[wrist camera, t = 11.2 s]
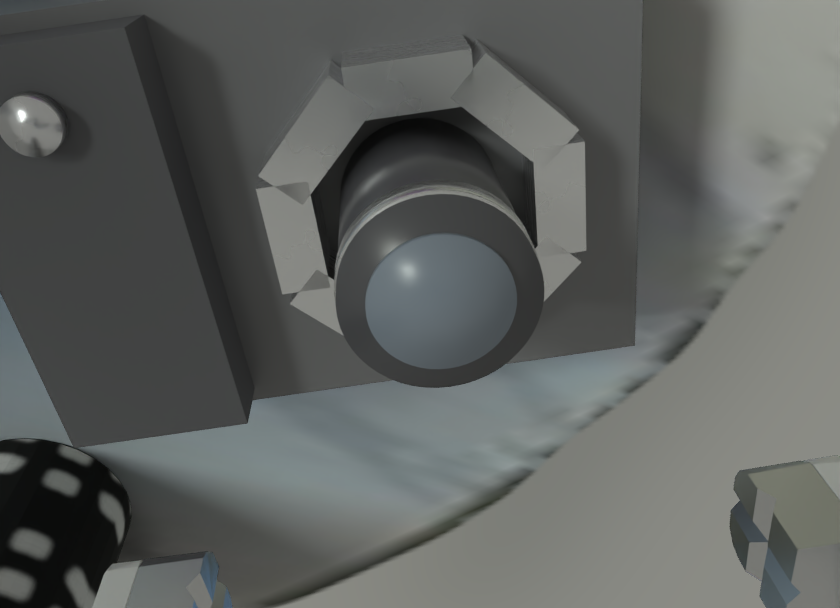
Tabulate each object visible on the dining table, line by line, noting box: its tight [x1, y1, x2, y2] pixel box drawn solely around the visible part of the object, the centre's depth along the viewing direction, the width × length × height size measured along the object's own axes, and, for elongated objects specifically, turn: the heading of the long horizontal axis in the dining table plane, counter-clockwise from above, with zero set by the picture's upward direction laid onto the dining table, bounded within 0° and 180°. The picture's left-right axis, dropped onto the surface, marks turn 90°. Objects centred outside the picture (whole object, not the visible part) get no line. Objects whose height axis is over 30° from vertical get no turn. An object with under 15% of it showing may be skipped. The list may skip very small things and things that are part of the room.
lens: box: [334, 118, 544, 388], centre depth 21 cm, size 5×5×7 cm
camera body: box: [0, 0, 643, 448], centre depth 25 cm, size 20×14×8 cm
